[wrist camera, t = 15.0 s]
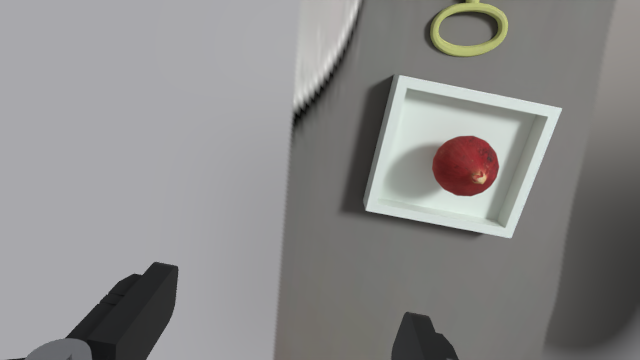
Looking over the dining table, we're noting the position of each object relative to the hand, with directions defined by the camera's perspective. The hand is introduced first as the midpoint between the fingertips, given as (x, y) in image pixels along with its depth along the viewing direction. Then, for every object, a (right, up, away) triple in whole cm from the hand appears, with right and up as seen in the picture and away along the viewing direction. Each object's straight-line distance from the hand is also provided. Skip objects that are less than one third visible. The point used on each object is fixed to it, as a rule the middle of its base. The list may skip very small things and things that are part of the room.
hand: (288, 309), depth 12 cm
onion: (+15, +7, +25) cm, 30 cm away
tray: (+15, +7, +26) cm, 31 cm away
